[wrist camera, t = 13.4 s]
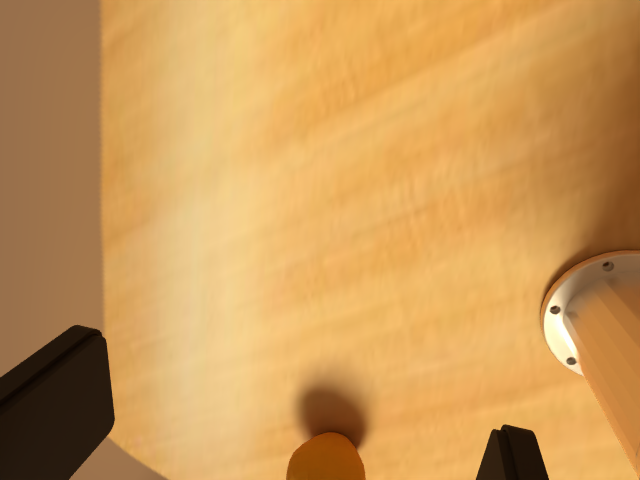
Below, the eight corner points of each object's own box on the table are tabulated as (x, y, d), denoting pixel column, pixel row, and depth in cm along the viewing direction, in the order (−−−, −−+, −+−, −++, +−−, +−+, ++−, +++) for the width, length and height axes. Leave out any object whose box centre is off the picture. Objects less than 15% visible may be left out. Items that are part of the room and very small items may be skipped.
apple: (286, 424, 51) (260, 490, 43) (349, 407, 48) (334, 474, 40) (319, 477, 53) (300, 550, 45) (382, 464, 50) (374, 539, 42)
